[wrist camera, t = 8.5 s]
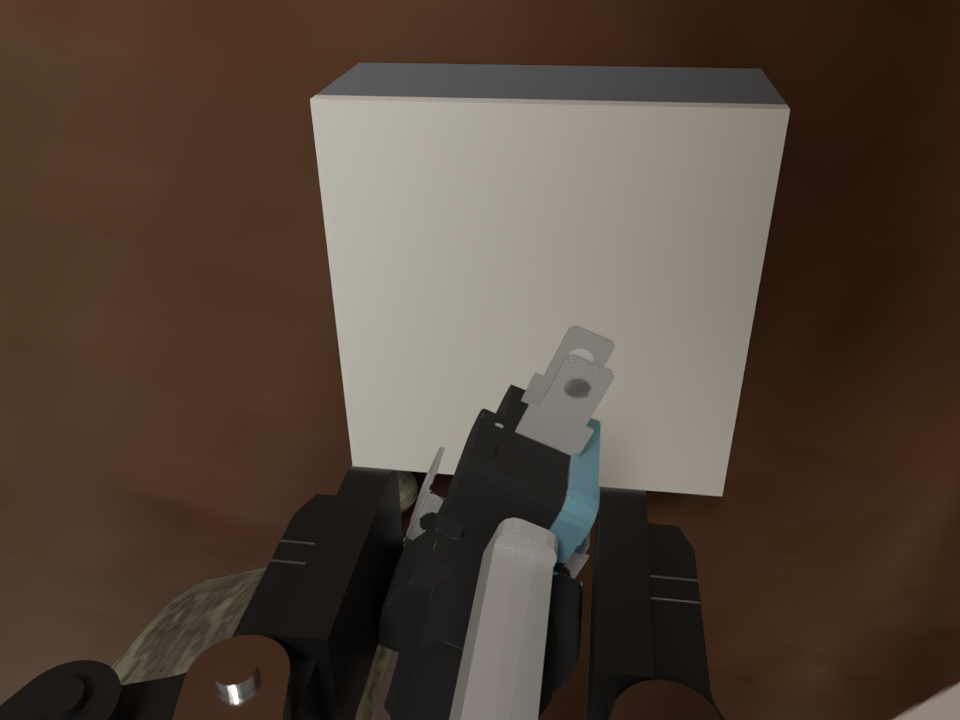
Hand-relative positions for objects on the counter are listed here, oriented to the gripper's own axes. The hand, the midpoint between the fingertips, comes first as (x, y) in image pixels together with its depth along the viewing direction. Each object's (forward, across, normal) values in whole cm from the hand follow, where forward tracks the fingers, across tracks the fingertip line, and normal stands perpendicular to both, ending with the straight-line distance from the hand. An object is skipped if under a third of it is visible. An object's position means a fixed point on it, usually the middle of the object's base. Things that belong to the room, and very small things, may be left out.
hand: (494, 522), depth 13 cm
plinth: (+11, 0, 0) cm, 11 cm away
